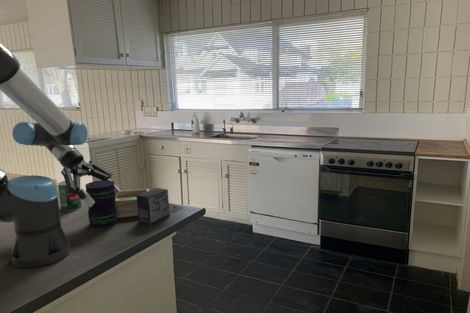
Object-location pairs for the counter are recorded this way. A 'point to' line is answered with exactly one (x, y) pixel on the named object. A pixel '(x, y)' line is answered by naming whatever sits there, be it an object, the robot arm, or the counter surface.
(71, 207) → the canned tomato
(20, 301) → the counter surface
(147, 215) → the small box
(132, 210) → the open wooden box
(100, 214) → the blue metal drum
